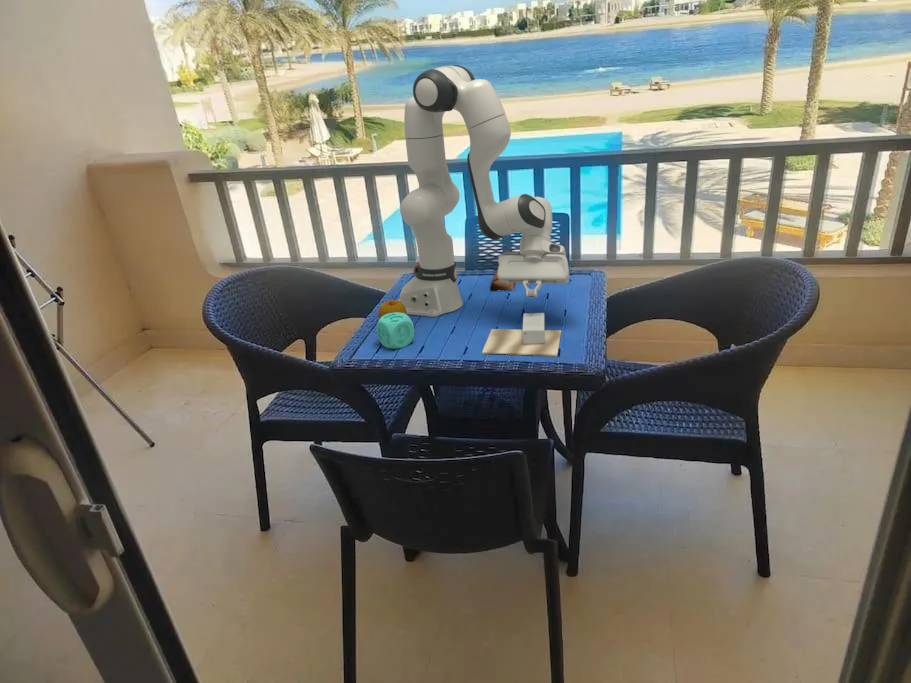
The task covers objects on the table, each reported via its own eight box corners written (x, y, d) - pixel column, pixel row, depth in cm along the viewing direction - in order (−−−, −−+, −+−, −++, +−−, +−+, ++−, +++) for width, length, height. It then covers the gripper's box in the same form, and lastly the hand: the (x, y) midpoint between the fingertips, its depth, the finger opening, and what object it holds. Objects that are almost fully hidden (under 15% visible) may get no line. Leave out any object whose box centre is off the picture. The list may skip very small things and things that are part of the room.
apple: (388, 321, 191) (385, 295, 187) (413, 323, 188) (410, 296, 184) (375, 332, 184) (371, 305, 180) (401, 335, 181) (397, 307, 177)
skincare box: (523, 326, 178) (522, 344, 167) (523, 312, 176) (521, 330, 165) (545, 326, 177) (544, 344, 166) (544, 312, 175) (544, 329, 164)
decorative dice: (400, 334, 181) (397, 309, 178) (416, 342, 175) (413, 316, 172) (377, 343, 177) (374, 318, 173) (393, 351, 171) (390, 325, 168)
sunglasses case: (515, 291, 205) (504, 274, 203) (498, 301, 208) (487, 285, 206) (520, 272, 221) (510, 257, 219) (503, 282, 224) (493, 267, 222)
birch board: (482, 354, 165) (481, 352, 165) (491, 330, 178) (491, 329, 178) (557, 356, 160) (557, 354, 160) (561, 332, 173) (561, 330, 173)
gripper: (497, 246, 175) (493, 291, 171) (569, 246, 170) (567, 292, 166) (500, 256, 181) (496, 300, 177) (570, 257, 176) (568, 301, 172)
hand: (531, 296), depth 171 cm, fingers closed
